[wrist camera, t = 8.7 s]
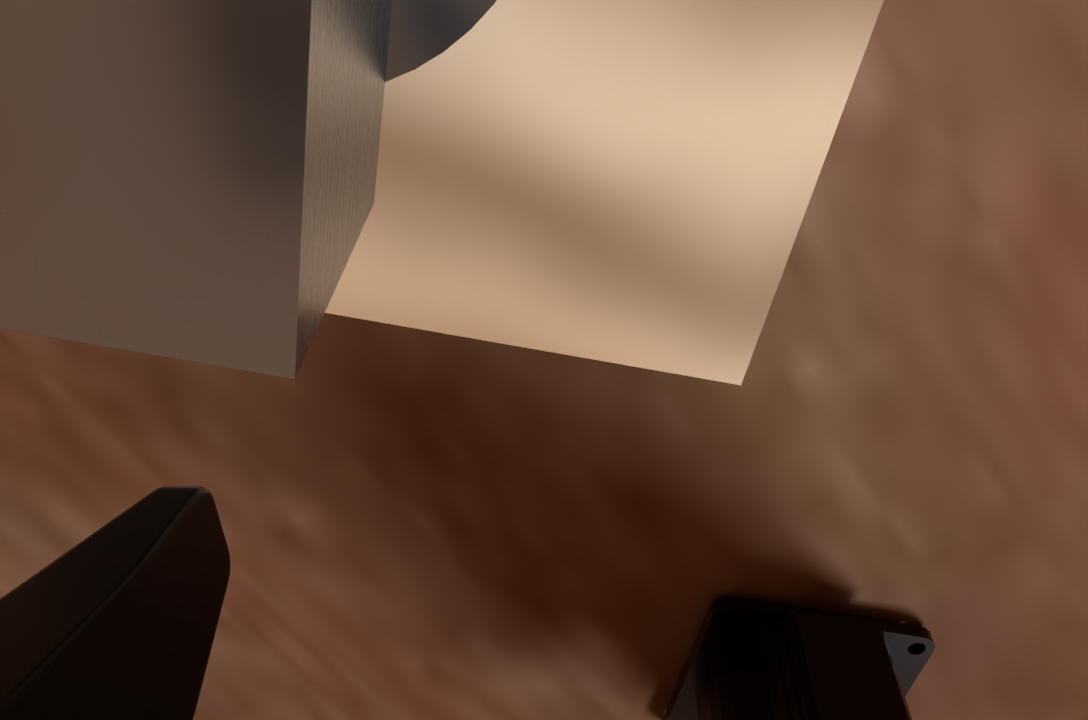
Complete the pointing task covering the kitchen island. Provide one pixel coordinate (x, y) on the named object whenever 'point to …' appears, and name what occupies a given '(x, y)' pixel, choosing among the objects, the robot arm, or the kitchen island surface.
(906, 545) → the kitchen island surface
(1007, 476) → the kitchen island surface
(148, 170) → the coupling
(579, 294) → the beige square board
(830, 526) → the kitchen island surface
